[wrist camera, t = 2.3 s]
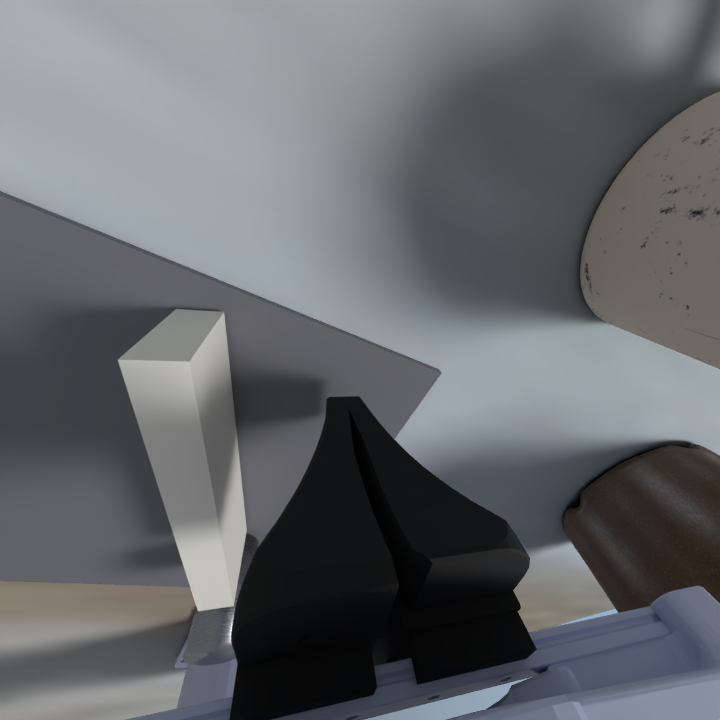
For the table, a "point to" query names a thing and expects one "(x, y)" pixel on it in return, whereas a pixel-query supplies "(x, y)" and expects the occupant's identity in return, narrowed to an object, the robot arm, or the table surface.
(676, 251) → the teacup with lid
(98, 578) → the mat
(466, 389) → the table surface
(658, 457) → the plant pot
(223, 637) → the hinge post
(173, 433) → the white long block
